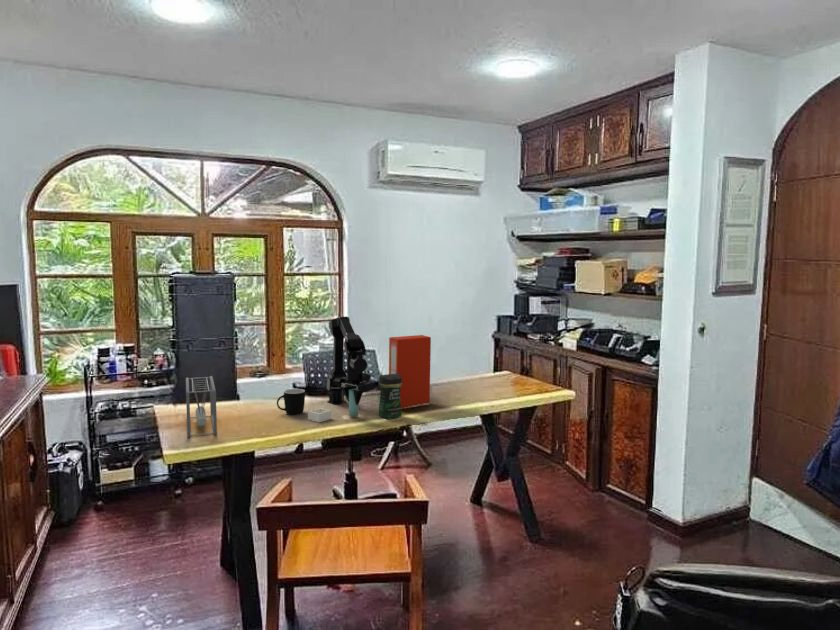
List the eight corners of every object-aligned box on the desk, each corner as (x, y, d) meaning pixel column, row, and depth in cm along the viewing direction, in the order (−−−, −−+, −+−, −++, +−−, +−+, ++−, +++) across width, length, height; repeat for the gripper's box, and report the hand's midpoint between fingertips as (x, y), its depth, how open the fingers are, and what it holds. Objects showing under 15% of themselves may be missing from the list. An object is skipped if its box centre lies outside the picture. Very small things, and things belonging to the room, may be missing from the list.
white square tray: (320, 416, 250) (320, 407, 249) (331, 419, 245) (331, 410, 245) (308, 420, 244) (307, 411, 244) (319, 423, 240) (318, 413, 240)
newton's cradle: (187, 417, 246) (185, 376, 244) (213, 415, 250) (212, 374, 248) (187, 439, 219) (186, 392, 217) (217, 436, 223) (215, 390, 221)
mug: (303, 410, 259) (303, 388, 258) (306, 415, 251) (306, 392, 250) (275, 412, 255) (275, 389, 254) (278, 418, 247) (277, 394, 246)
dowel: (346, 415, 247) (346, 390, 246) (353, 413, 251) (353, 388, 249) (353, 417, 245) (353, 391, 244) (360, 415, 248) (360, 389, 247)
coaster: (353, 413, 255) (353, 412, 255) (370, 418, 249) (370, 416, 249) (336, 418, 247) (336, 417, 247) (353, 423, 241) (353, 421, 241)
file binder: (429, 405, 270) (430, 337, 267) (397, 410, 261) (397, 339, 258) (420, 401, 277) (421, 334, 273) (388, 406, 268) (389, 337, 265)
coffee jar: (384, 420, 245) (384, 377, 243) (375, 416, 252) (376, 373, 250) (404, 417, 250) (404, 374, 248) (395, 413, 257) (395, 371, 255)
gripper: (383, 367, 246) (382, 403, 248) (351, 362, 258) (351, 396, 259) (364, 371, 237) (364, 409, 239) (332, 365, 249) (333, 401, 251)
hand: (353, 403), depth 247 cm, fingers closed on dowel, 4 cm apart
